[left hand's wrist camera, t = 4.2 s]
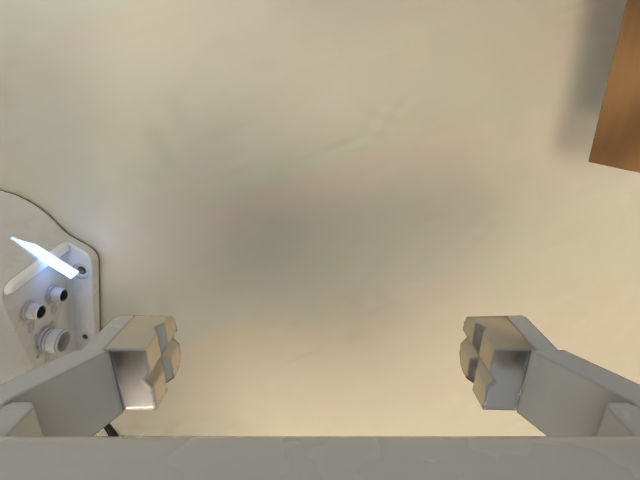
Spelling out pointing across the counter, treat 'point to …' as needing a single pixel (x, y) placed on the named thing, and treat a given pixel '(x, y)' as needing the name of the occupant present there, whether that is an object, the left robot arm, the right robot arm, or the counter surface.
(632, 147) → the bar
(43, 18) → the counter surface
